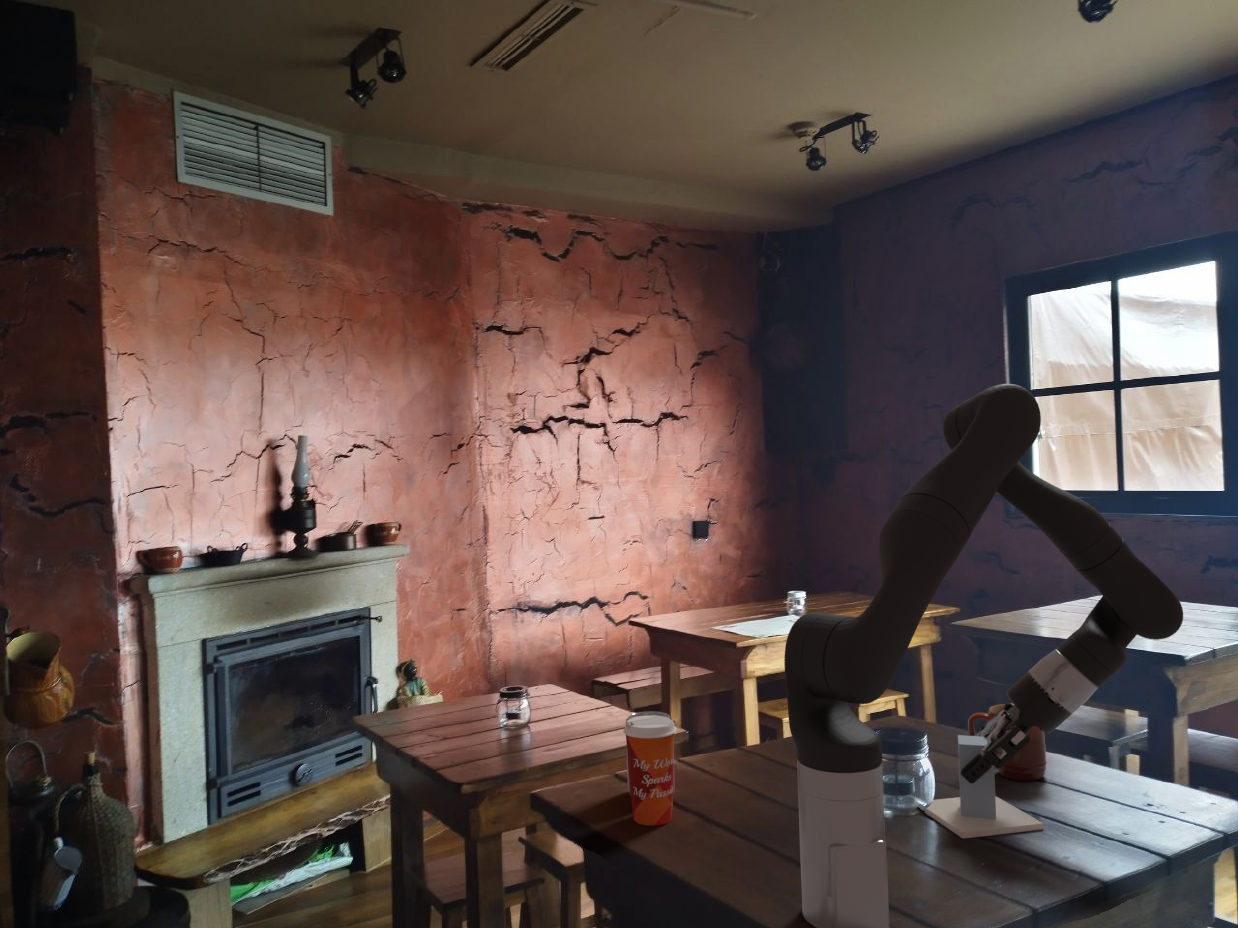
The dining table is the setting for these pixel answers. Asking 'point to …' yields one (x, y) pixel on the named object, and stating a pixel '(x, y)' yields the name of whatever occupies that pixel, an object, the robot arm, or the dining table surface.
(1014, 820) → the tile
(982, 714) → the mug
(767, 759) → the dining table surface
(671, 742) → the paper cup
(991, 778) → the block
